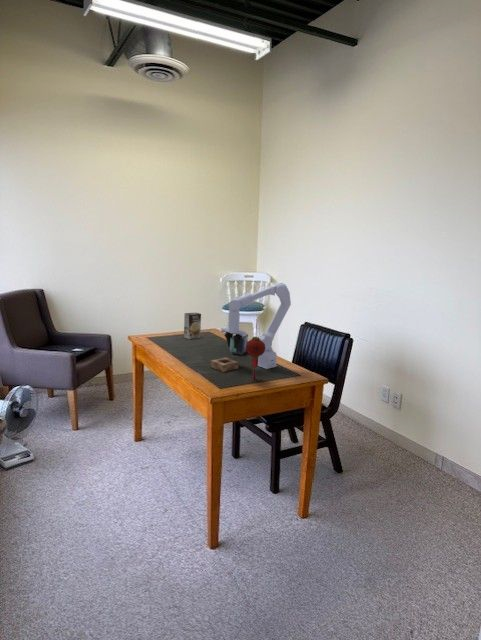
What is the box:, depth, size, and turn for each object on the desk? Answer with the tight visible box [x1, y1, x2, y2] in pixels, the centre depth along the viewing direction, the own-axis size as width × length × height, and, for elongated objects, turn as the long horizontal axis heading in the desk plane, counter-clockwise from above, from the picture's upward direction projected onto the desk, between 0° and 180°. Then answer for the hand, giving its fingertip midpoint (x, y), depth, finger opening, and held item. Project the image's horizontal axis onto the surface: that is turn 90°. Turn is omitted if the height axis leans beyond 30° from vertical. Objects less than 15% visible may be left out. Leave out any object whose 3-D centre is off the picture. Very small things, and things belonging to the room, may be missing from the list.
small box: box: [231, 333, 249, 356], centre depth 245 cm, size 11×6×10 cm, turn 162°
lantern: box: [246, 320, 265, 380], centre depth 199 cm, size 10×10×30 cm
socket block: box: [210, 356, 239, 373], centre depth 216 cm, size 10×10×4 cm
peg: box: [229, 337, 236, 353], centre depth 222 cm, size 3×3×7 cm
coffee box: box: [183, 312, 202, 340], centre depth 276 cm, size 9×6×16 cm
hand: (233, 347), depth 222 cm, fingers closed on peg, 3 cm apart
